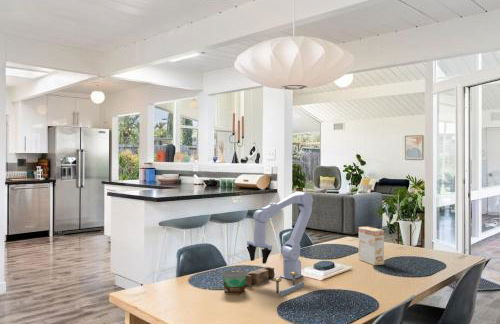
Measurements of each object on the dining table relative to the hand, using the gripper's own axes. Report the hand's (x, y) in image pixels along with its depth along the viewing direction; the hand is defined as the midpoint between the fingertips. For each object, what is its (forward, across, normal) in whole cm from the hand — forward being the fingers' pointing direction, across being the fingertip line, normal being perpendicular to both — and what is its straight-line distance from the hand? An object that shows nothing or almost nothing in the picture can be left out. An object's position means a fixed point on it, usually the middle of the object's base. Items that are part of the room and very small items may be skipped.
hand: (258, 262), depth 212 cm
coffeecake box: (+5, +27, +71) cm, 76 cm away
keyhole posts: (+9, +18, -1) cm, 20 cm away
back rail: (+9, +22, -1) cm, 24 cm away
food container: (+11, +3, -19) cm, 22 cm away
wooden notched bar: (+10, 0, +1) cm, 10 cm away
